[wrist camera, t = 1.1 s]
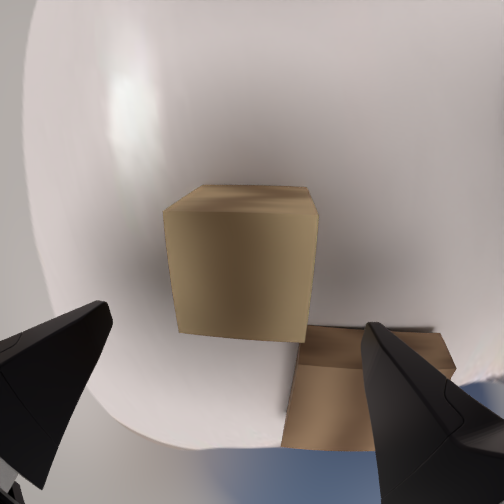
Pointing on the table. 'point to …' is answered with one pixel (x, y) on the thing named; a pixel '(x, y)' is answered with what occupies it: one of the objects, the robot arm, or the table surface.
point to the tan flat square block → (341, 388)
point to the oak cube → (242, 261)
